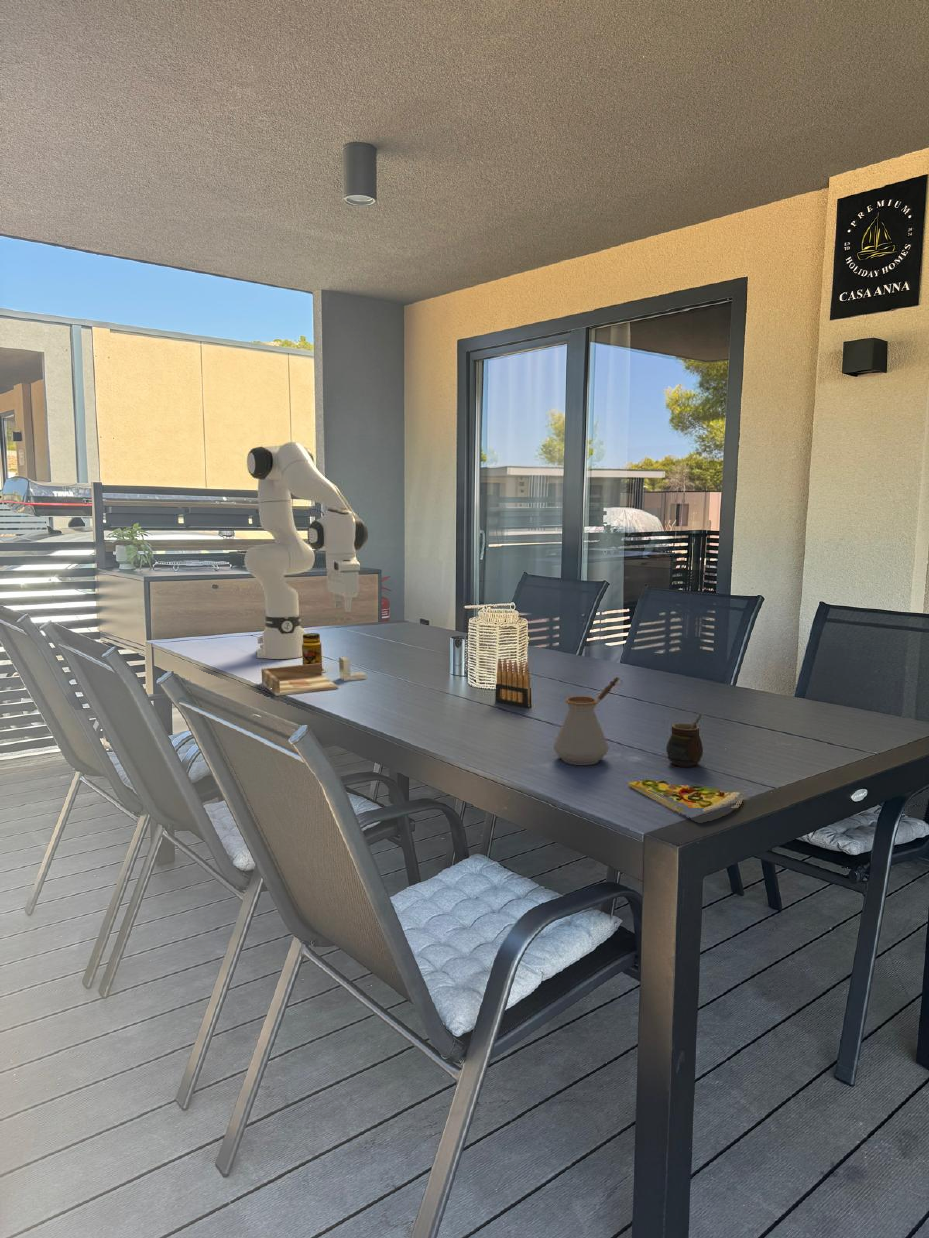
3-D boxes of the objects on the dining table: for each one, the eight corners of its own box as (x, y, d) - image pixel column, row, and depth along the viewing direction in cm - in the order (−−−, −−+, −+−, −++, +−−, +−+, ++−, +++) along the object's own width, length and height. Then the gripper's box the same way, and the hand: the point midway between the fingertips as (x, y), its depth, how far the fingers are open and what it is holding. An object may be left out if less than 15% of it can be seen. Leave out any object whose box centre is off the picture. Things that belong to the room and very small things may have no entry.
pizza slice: (708, 829, 141) (709, 812, 141) (605, 799, 155) (605, 783, 155) (750, 804, 152) (751, 788, 152) (651, 778, 166) (651, 763, 166)
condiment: (305, 674, 262) (303, 636, 261) (297, 669, 270) (295, 632, 268) (327, 672, 266) (326, 634, 264) (319, 667, 273) (317, 630, 271)
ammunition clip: (494, 702, 226) (494, 658, 224) (499, 700, 227) (498, 657, 225) (527, 708, 219) (527, 663, 217) (531, 706, 220) (531, 661, 219)
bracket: (344, 681, 253) (343, 660, 252) (339, 678, 257) (339, 657, 256) (366, 678, 255) (365, 657, 255) (361, 676, 260) (361, 655, 259)
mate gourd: (658, 762, 174) (659, 715, 173) (682, 756, 179) (684, 710, 177) (685, 771, 169) (687, 722, 167) (710, 764, 173) (712, 717, 171)
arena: (262, 682, 251) (261, 668, 251) (321, 676, 259) (320, 663, 258) (275, 695, 235) (275, 680, 235) (338, 688, 243) (337, 674, 242)
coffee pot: (589, 772, 169) (590, 699, 167) (542, 760, 176) (542, 690, 174) (641, 746, 185) (642, 680, 183) (595, 737, 192) (596, 673, 190)
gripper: (321, 561, 258) (322, 606, 260) (340, 565, 239) (342, 614, 241) (341, 560, 260) (342, 604, 262) (362, 564, 242) (363, 612, 244)
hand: (342, 609), depth 252 cm, fingers open, 8 cm apart
